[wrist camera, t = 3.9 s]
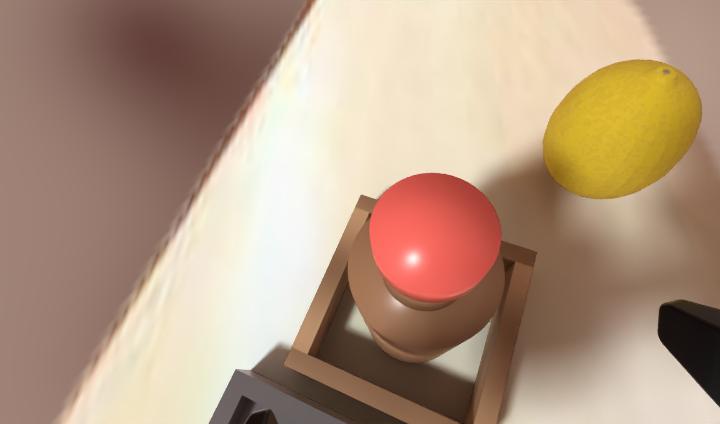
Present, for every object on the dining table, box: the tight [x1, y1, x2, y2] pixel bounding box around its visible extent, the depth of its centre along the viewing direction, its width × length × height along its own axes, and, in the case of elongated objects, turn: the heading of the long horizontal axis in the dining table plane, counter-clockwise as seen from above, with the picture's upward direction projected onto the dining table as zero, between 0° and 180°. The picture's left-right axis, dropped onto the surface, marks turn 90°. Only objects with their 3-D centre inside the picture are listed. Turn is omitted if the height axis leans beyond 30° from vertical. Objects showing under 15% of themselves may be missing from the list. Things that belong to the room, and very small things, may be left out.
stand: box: [284, 195, 537, 424], centre depth 18 cm, size 9×9×2 cm
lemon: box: [543, 60, 702, 199], centre depth 17 cm, size 6×6×8 cm
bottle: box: [348, 173, 505, 363], centre depth 13 cm, size 5×5×12 cm
